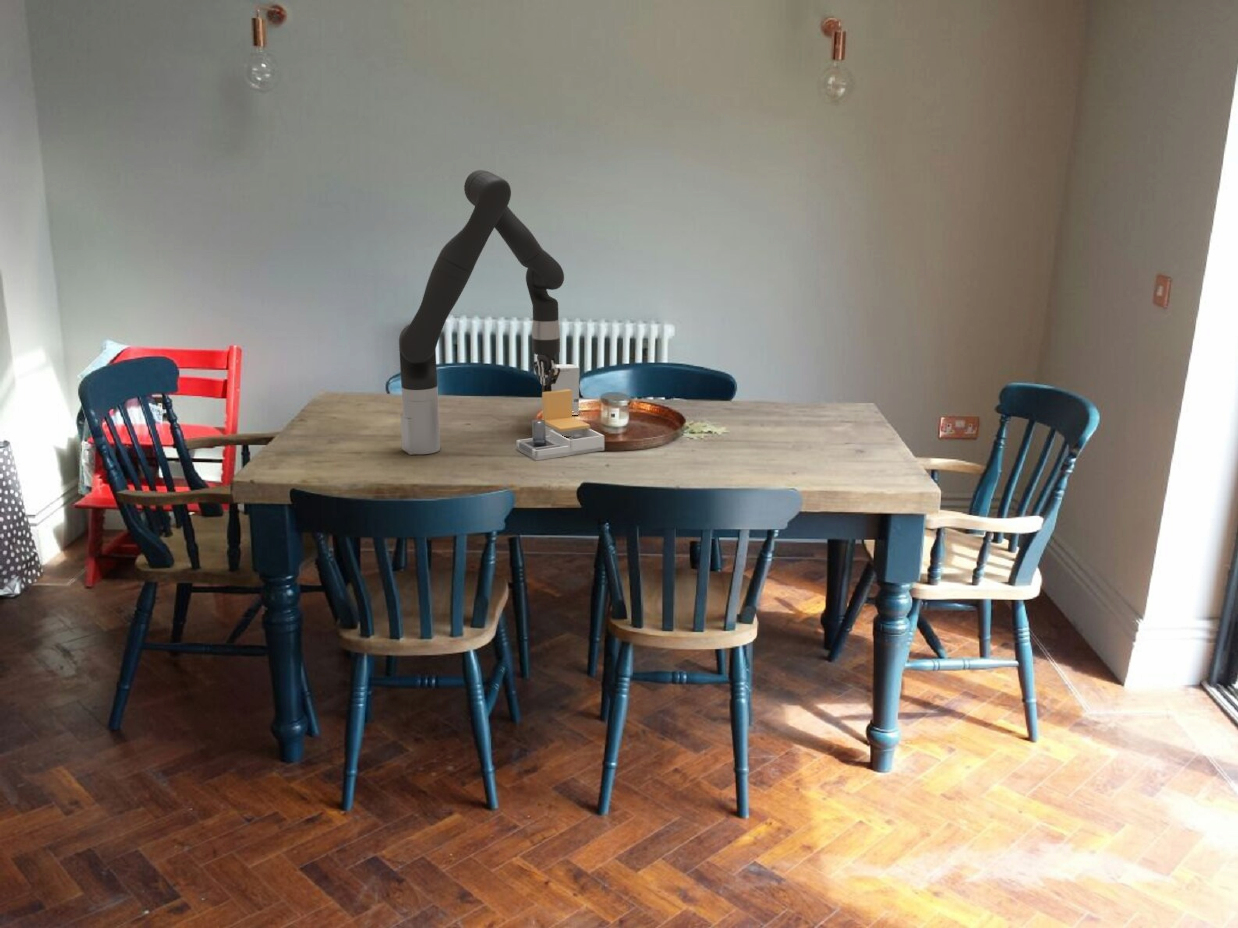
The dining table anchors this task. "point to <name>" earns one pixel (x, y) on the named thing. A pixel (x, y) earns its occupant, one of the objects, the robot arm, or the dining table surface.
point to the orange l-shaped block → (560, 411)
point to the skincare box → (569, 382)
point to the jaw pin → (539, 433)
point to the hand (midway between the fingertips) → (546, 397)
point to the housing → (563, 443)
